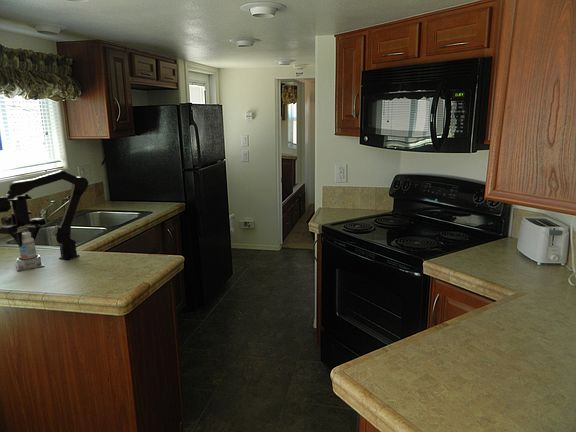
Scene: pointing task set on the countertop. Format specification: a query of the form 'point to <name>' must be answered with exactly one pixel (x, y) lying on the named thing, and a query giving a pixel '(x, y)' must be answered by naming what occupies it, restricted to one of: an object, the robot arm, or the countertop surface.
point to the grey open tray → (29, 263)
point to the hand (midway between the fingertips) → (26, 244)
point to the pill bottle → (27, 246)
